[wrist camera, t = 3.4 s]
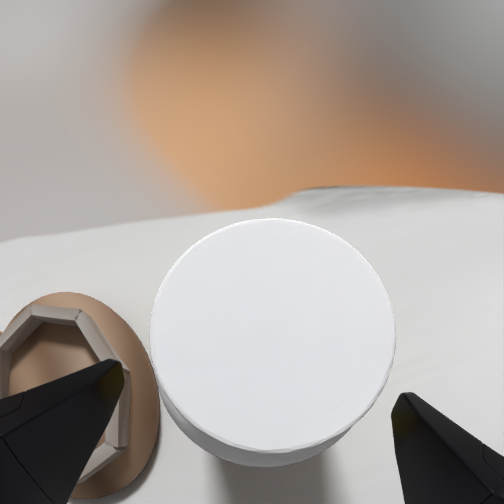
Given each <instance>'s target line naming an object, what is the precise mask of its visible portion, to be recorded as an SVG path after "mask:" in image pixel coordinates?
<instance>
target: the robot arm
mask: <svg viewBox="0 0 504 504" xmlns="http://www.w3.org/2000/svg"><path fill="white" fill-rule="evenodd" d="M124 385H125V377H124V372H123V367H122V363H121V362H120V361H119V360H115V359H112V358H109V359H106V360H104V361H101V362H99V363H96V364H94V365H91V366H89V367H86V368H84V369H81V370H79V371H76V372H74V373H71V374H68V375H66V376H63V377H61V378H58V379H55V380H53V381H50V382H47V383H45V384H42V385H39V386H37V387H34V388H31V389H29V390H26V392H25V391H23V392H20V393H17V394H14V395H11V396H8V397H5V398H2V399H0V504H67V502H68V500H69V498H70V496H71V494H72V492H73V490H74V488H75V486H76V484H77V482H78V480H79V478H80V476H81V474H82V472H83V470H84V468H85V467H86V465H87V463H88V461H89V459H90V457H91V455H92V453H93V452H94V450H95V448H96V446H97V444H98V442H99V440H100V439H101V437H102V435H103V433H104V431H105V429H106V428H107V426H108V424H109V422H110V420H111V417H112V415H113V413H114V410H115V408H116V405H117V403H118V400H119V398H120V395H121V393H122V391H123V388H124ZM391 420H392V428H393V437H394V447H395V455H396V460H397V465H398V469H399V474H400V479H401V485H402V490H403V496H404V501H405V504H504V457H503V456H502V455H500V454H499V453H497V452H496V451H494V450H492V449H491V448H490V447H488V446H487V445H485V444H482V442H481V441H480V440H478V439H477V438H475V437H474V436H473V435H471V434H470V433H468V432H467V431H466V430H464V429H463V428H461V427H460V426H459V425H457V424H456V423H454V422H453V421H452V420H450V419H449V418H447V417H446V416H445V415H443V414H442V413H440V412H439V411H438V410H436V409H435V408H434V407H432V406H431V405H429V404H428V403H427V402H425V401H424V400H423V399H421V398H420V397H418V396H417V395H416V394H414V393H413V392H405V393H401V394H400V395H399V397H398V399H397V401H396V403H395V406H394V408H393V410H392V413H391Z"/></svg>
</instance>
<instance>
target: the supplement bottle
mask: <svg viewBox="0 0 504 504" xmlns="http://www.w3.org/2000/svg"><path fill="white" fill-rule="evenodd" d="M149 343H150V353H151V358H152V363H153V366H154V370H155V373H156V380H157V384H158V389H159V392H160V395H161V398H162V400H163V403H164V405H165V407H166V409H167V411H168V413H169V414H170V416H171V417H172V419H173V420H174V422H175V423H176V424H177V426H178V427H179V428H180V429H181V430H182V432H183V433H184V434H185V435H186V436H187V437H189V438H190V439H191V440H192V441H193V442H194V443H196V444H197V445H198V446H200V447H201V448H202V449H204V450H205V451H207V452H209V453H211V454H213V455H215V456H217V457H219V458H222V459H224V460H227V461H230V462H233V463H236V464H241V465H246V466H252V467H278V466H285V465H290V464H294V463H298V462H301V461H304V460H306V459H309V458H311V457H313V456H315V455H317V454H319V453H321V452H323V451H324V450H326V449H327V448H329V447H330V446H332V445H333V444H335V443H336V442H337V441H338V440H340V439H341V438H342V437H343V436H344V435H345V434H346V433H347V432H348V431H349V430H350V429H351V427H352V426H353V425H354V424H355V423H356V422H358V421H359V420H360V419H361V418H362V417H363V416H364V415H365V414H366V413H367V412H368V410H369V409H370V408H371V407H372V406H373V404H374V403H375V401H376V399H377V398H378V396H379V395H380V393H381V392H382V390H383V388H384V386H385V384H386V382H387V379H388V376H389V373H390V370H391V367H392V363H393V359H394V353H395V348H396V327H395V319H394V314H393V309H392V305H391V302H390V299H389V296H388V294H387V291H386V289H385V287H384V285H383V283H382V281H381V279H380V278H379V276H378V275H377V273H376V272H375V270H374V269H373V268H372V266H371V265H370V264H369V263H368V261H367V260H366V259H365V258H364V257H363V256H362V255H361V254H360V253H359V252H358V251H357V250H356V249H355V248H353V247H352V246H351V245H350V244H348V243H347V242H346V241H344V240H343V239H341V238H340V237H338V236H336V235H334V234H332V233H330V232H329V231H327V230H324V229H322V228H319V227H317V226H314V225H311V224H308V223H304V222H300V221H295V220H289V219H273V218H269V219H255V220H248V221H243V222H238V223H235V224H232V225H230V226H227V227H224V228H221V229H219V230H217V231H215V232H213V233H211V234H209V235H208V236H206V237H204V238H203V239H201V240H200V241H198V242H197V243H195V244H194V245H193V246H191V247H190V248H189V249H188V250H187V251H186V252H185V253H184V254H183V255H182V256H181V257H180V258H179V259H178V260H177V261H176V262H175V264H174V265H173V266H172V268H171V269H170V271H169V272H168V273H167V275H166V276H165V278H164V279H163V281H162V283H161V285H160V287H159V289H158V292H157V295H156V297H155V300H154V304H153V308H152V313H151V318H150V326H149Z"/></svg>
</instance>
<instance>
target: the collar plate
mask: <svg viewBox="0 0 504 504" xmlns="http://www.w3.org/2000/svg"><path fill="white" fill-rule="evenodd" d="M109 358H112V359H115V360H119V361H120V362H121V363H122V367H123V372H124V377H125V385H124V388H123V391H122V393H121V395H120V398H119V400H118V403H117V405H116V408H115V410H114V413H113V415H112V417H111V420H110V422H109V424H108V426H107V428H106V429H105V431H104V433H103V435H102V437H101V439H100V440H99V442H98V444H97V446H96V448H95V450H94V452H93V453H92V455H91V457H90V459H89V461H88V463H87V465H86V467H85V468H84V470H83V472H82V474H81V476H80V478H79V480H78V482H77V484H76V486H75V488H74V490H73V492H72V494H71V496H70V497H71V498H76V499H95V498H101V497H104V496H107V495H110V494H113V493H115V492H117V491H119V490H121V489H122V488H124V487H126V486H127V485H128V484H130V483H131V482H132V481H133V480H134V479H135V478H137V476H138V475H139V474H140V473H141V471H142V470H143V469H144V468H145V466H146V464H147V462H148V460H149V459H150V457H151V454H152V452H153V449H154V446H155V444H156V439H157V435H158V430H159V420H160V401H159V393H158V386H157V381H156V378H155V374H154V370H153V367H152V365H151V362H150V359H149V357H148V354H147V352H146V351H145V349H144V347H143V345H142V343H141V341H140V340H139V338H138V337H137V335H136V334H135V332H134V331H133V330H132V329H131V327H130V326H129V325H128V324H127V323H126V322H125V321H124V320H123V319H122V318H121V317H120V316H119V315H118V314H117V313H115V312H114V311H113V310H112V309H111V308H109V307H108V306H106V305H105V304H103V303H102V302H100V301H98V300H96V299H94V298H92V297H90V296H86V295H83V294H80V293H72V292H59V293H53V294H49V295H46V296H43V297H40V298H39V299H37V300H35V301H33V302H31V303H30V304H28V305H27V306H25V307H24V308H23V309H22V310H21V311H20V312H19V313H18V314H17V315H16V316H15V317H14V318H13V319H12V320H11V322H10V323H9V325H8V326H7V328H6V329H5V331H4V332H3V333H2V332H0V399H2V398H5V397H8V396H11V395H14V394H17V393H20V392H23V391H25V392H26V390H29V389H31V388H34V387H37V386H39V385H42V384H45V383H47V382H50V381H53V380H55V379H58V378H61V377H63V376H66V375H68V374H71V373H74V372H76V371H79V370H81V369H84V368H86V367H89V366H91V365H94V364H96V363H99V362H101V361H104V360H106V359H109Z"/></svg>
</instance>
